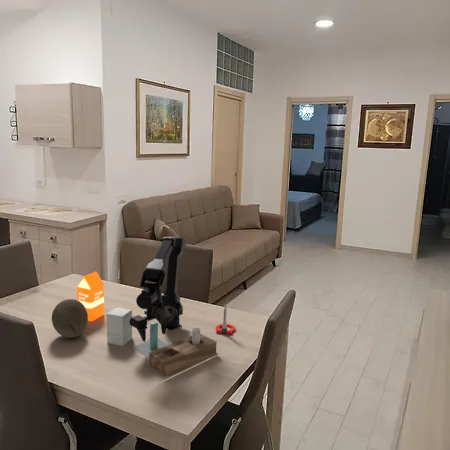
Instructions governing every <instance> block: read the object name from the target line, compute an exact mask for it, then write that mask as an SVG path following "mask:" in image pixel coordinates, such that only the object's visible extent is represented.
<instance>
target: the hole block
mask: <svg viewBox="0 0 450 450" xmlns="http://www.w3.org/2000/svg"><path fill="white" fill-rule="evenodd" d="M215 354H217V341H216V340H214V339H212V338H210V337H207V336H205V335H204V334H202V333H200V344H199V345H197V346H195V345H193V344H192V335H190V336H187V337H185V338H182V339H180V340H178V341H175V342H173V343H171V344H169V345H168V346H165V347H163V348H160V349H158V350H155V351H153V352H150V353H149V358H148V365H149V366H150V367H152V368H153V369H154V370H156V371H158V372H159V373H161V374H163V375H164V376H166V377H168V376H170V375H173V374H175V373H177V372H178V371H181V370H183V369H185V368H187V367H189V366H192V365H194V364H196V363H198V362H199V361H200V362H201V361H202V360H204V359H206V358H208V357H210V356H212V355H215Z"/></svg>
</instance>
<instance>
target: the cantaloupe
mask: <svg viewBox="0 0 450 450" xmlns="http://www.w3.org/2000/svg"><path fill="white" fill-rule="evenodd" d="M51 322H52V326H53V328H54V330H55V331H56V333H58V334H59V335H60V336H61V337H64V338H67V339H74V338H77V337H79V336H81V335H82V334H83V333H84V332H85V330H86V328H87V325H88V322H89V321H88V313H87V310H86V308H85V306H84V305H83V304H82V303H81V302H80V301H78V300H77V299H64V300H61V301H60V302H59V303H58V304H57V305H56V306H55V307H54V309H53V310H52V314H51Z"/></svg>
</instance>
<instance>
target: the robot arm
mask: <svg viewBox="0 0 450 450" xmlns="http://www.w3.org/2000/svg"><path fill="white" fill-rule="evenodd" d="M186 241H187V240H186V239H185V238H184V237H183V236H178V235H177V236H176V235H168V236H163V237H162V239H161V245H160V246H159V248H158V250H157V253H156V254H155V257H154V259H153V260H152V261H151V262H149V263H148V264H147V265H146V267H145V268H144V270H143V271H142V272H143V273H142V276H141V280H140V285H139V288H142V289H141V293H140V294H138V296H137V297H136V299H135V300H136V305H137V307H138V308H140V309H141V310H142V309H143V310H145V311H144V315H146V316H141V315H140V314H138V315H134V316H132V317H131V318H130V320H129V325H131V326H132V328H135V329H136V330H137V331H138V334H139V337H140V338H141V339H142V342H143V343H144V342H146V340H147V334H146V333H147V329H148V328H149V327H148V326H147V325H148V322H149V321H153V320H156V322H157V323H158V324H159V325H160V328H161V329H160V330H161V334H162V335H165V334H166V331H167V329H168V330H169V331H172V330H174V329H175V330H176V329H177V328H181V327H182V326H183V325H182V324H181V323H180V316H181V315H183V313H184V306H183V304H182V302H181V296H180V294H179V292H178V281H179V269H180V258H181V256H182V255H183V253H184V252H185V248H186V245H187V242H186ZM166 265H167V273H166ZM165 282H166V285H165V286H166V287H165V291H164V293H163V286H164V284H165Z"/></svg>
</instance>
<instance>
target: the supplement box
mask: <svg viewBox="0 0 450 450" xmlns="http://www.w3.org/2000/svg"><path fill="white" fill-rule="evenodd" d="M131 317H133V310H132V309H129V308H123V307H119V306H118V307H115V308H113V309H112V310H110V311H109V312H106V337H107V339H106V340H107V341H106V342H107V343H108V344H111V345H115V346H121V347H123V346H125V345H126V344H127V343H129V342H130V341H131V340H132V339H133V326H131V325H129V320H130V318H131Z"/></svg>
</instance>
